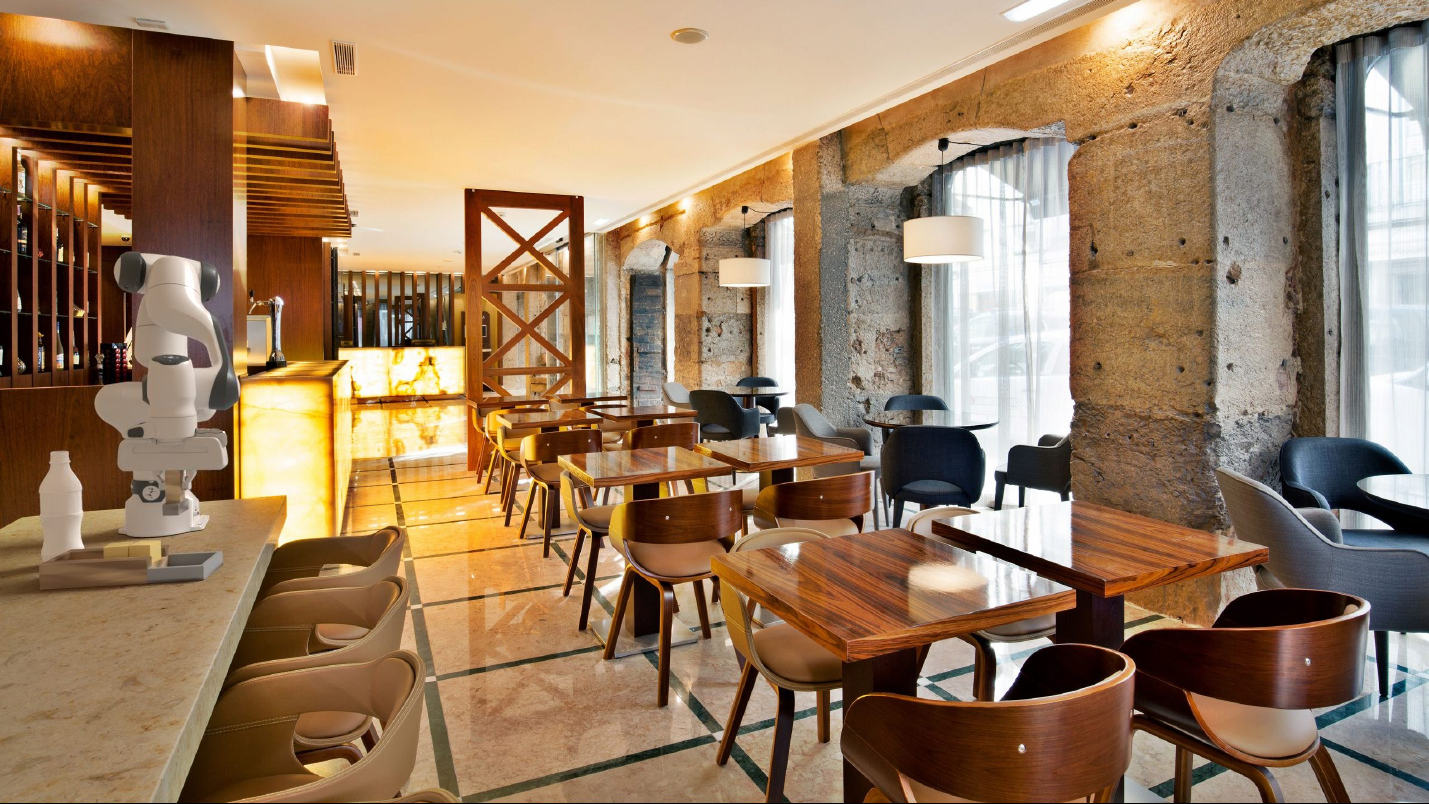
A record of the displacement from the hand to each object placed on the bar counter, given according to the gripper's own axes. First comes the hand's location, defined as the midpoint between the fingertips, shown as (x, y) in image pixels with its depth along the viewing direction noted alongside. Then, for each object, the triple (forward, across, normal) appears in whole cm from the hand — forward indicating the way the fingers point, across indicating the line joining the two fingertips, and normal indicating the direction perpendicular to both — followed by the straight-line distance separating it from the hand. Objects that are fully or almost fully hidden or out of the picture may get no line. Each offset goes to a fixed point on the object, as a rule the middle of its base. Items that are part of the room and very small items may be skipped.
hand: (175, 489), depth 169 cm
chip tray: (+16, -5, +11) cm, 20 cm away
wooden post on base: (+5, 0, 0) cm, 5 cm away
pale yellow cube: (+11, +2, +11) cm, 16 cm away
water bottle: (+17, +22, -2) cm, 28 cm away
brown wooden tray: (+16, +9, +11) cm, 21 cm away
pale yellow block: (+11, +7, +11) cm, 17 cm away
